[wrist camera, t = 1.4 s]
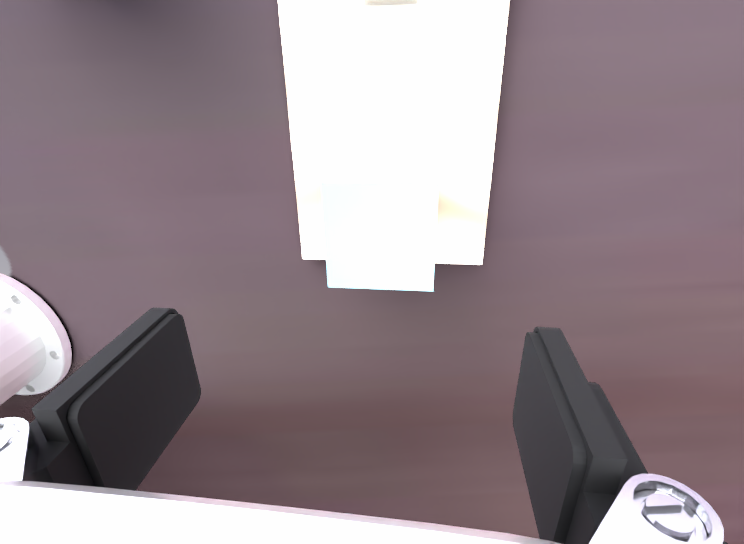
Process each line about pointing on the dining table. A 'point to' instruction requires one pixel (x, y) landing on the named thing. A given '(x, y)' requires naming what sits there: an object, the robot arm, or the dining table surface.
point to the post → (387, 2)
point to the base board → (396, 103)
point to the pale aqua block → (381, 223)
